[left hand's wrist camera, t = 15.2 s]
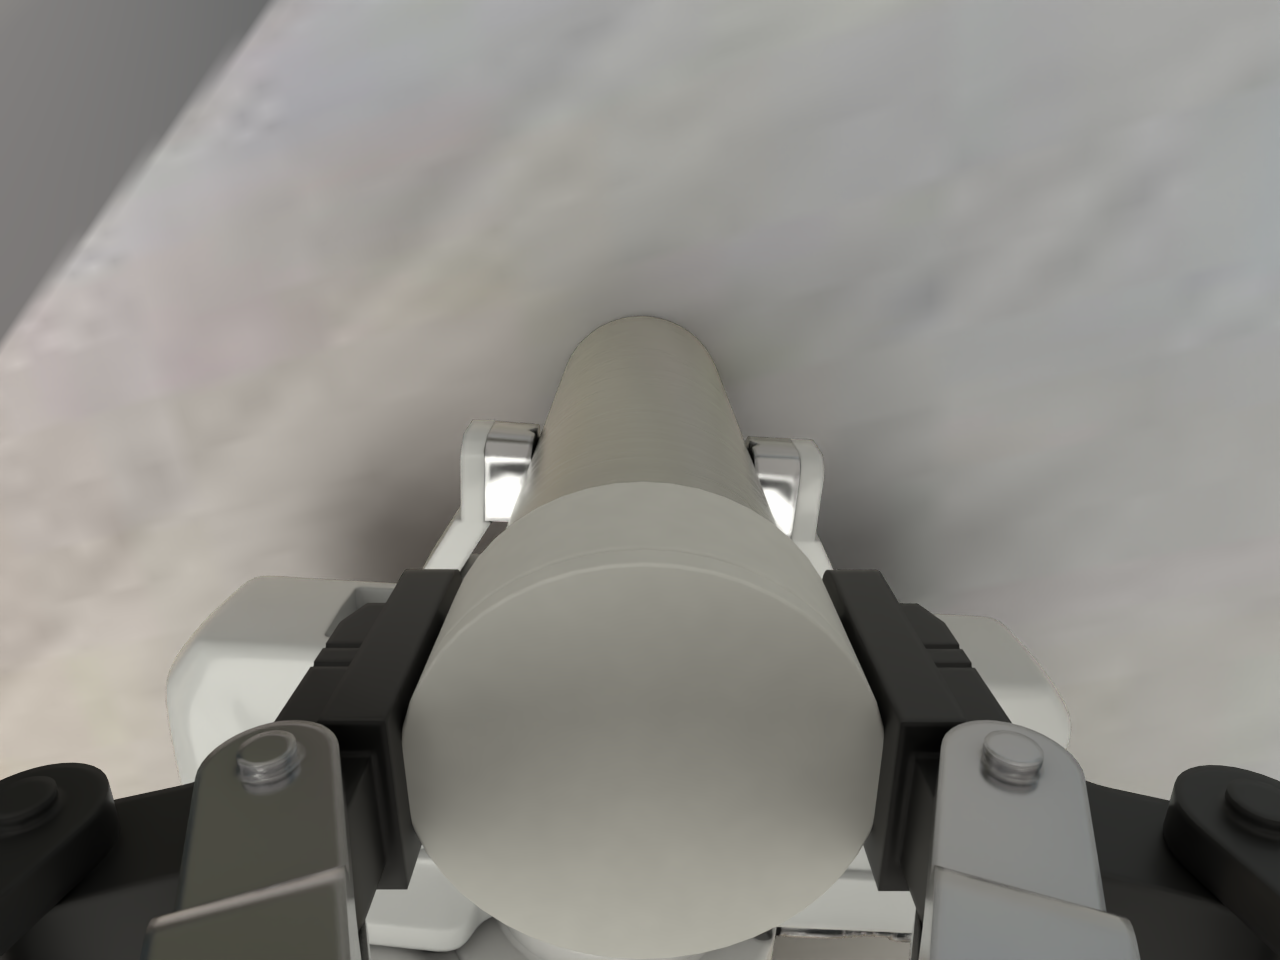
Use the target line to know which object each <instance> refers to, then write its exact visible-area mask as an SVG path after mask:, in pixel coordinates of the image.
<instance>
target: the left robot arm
mask: <svg viewBox="0 0 1280 960" xmlns="http://www.w3.org/2000/svg"><path fill="white" fill-rule="evenodd" d="M822 581H823V583H824V585H825V587H826V590H827V592H828V594H829V596H830V598H831V600H832V603H833V605H834V607H835V609H836V612H837V614H838V616H839V618H840V621H841V623H842V625H843V627H844V630H845V632H846V634H847V636H848V639H849V641H850V643H851V645H852V648H853V650H854V652H855V654H856V657H857V659H858V661H859V663H860V666H861V668H862V670H863V672H864V675H865V677H866V679H867V682H868V684H869V686H870V688H871V690H872V693H873V695H874V697H875V699H876V702H877V705H878V708H879V712H880V715H881V719H882V723H883V726H884V741H883V751H882V759H881V767H880V775H879V782H878V790H877V798H876V806H875V814H874V821H873V827H872V829H871V832H870V834H869V835H868V837H867V839H866V841H865V842H864V844H863V846H864V849H865V852H866V855H867V858H868V861H869V864H870V867H871V870H872V874H873V877H874V880H875V883H876V886H877V889H878V891H910V894H911V896H912V899H913V902H914V904H915V907H916V910H915V916H914V923H913V929H912V935H911V945H910V955H909V960H1280V781H1278V780H1275V779H1272V778H1270V777H1267V776H1265V775H1262V774H1259V773H1255V772H1252V771H1249V770H1244V769H1240V768H1235V767H1228V766H1220V765H1206V766H1197V767H1194V768H1190V769H1188V770H1186V771H1184V772H1182V773H1181V774H1180V775H1179V776H1178V777H1177V780H1176V782H1175V784H1174V788H1173V792H1172V795H1171V799H1170V801H1168V800H1164V799H1159V798H1154V797H1150V796H1145V795H1140V794H1136V793H1131V792H1126V791H1122V790H1117V789H1112V788H1108V787H1104V786H1101V785H1097V784H1094V783H1091V782H1088V781H1085V777H1084V773H1083V770H1082V768H1081V767H1080V765H1079V763H1078V762H1077V761H1076V759H1075V758H1074V757H1073V756H1072V755H1071V754H1070V753H1069V752H1068V751H1067V750H1066V749H1065V748H1064V747H1062V746H1061V745H1059V744H1058V743H1057V742H1055V741H1054V740H1052V739H1050V738H1048V737H1047V736H1045V735H1043V734H1041V733H1039V732H1036V731H1034V730H1032V729H1029V728H1026V727H1023V726H1020V725H1016V724H1013V723H1012V722H1011V721H1010V719H1009V718H1008V716H1007V715H1006V713H1005V712H1004V710H1003V709H1002V707H1001V706H1000V704H999V703H998V701H997V700H996V698H995V697H994V695H993V694H992V692H991V691H990V689H989V688H988V686H987V685H986V683H985V682H984V680H983V679H982V677H981V676H980V674H979V673H978V671H977V670H976V669H975V668H972V663H971V661H970V660H969V658H968V657H967V655H966V654H965V652H964V651H963V649H960V648H959V643H958V642H957V640H956V639H955V637H954V636H953V634H952V633H951V631H950V630H949V628H948V627H947V625H946V624H945V622H943V621H942V620H940V619H939V618H937V617H936V616H935V615H933V614H932V613H930V612H929V611H927V610H926V609H924V608H923V607H921V606H920V605H919V604H899V602H898V601H897V599H896V597H895V596H894V594H893V592H892V591H891V589H890V587H889V586H888V584H887V582H886V581H885V579H884V577H883V576H882V574H881V573H880V571H878V570H826V571H825V572H824V574H823V578H822ZM461 583H462V576H461V573H460V571H459V570H458V569H406V570H405V571H404V573H403V574H402V576H401V578H400V579H399V581H398V583H397V584H396V586H395V588H394V590H393V591H392V593H391V595H390V596H389V598H388V600H387V601H386V603H366V604H365V605H363V606H362V607H361V608H359V609H358V610H356V611H355V612H353V613H352V614H350V615H349V616H348V617H346V618H345V619H343V620H342V621H340V623H339V624H338V626H337V627H336V629H335V630H334V632H333V633H332V635H331V636H330V638H329V639H328V641H327V642H326V647H325V648H322V650H321V651H320V653H319V654H318V656H317V658H316V659H315V661H314V666H313V667H310V668H309V670H308V671H307V673H306V674H305V676H304V677H303V679H302V680H301V682H300V683H299V685H298V686H297V688H296V689H295V691H294V692H293V694H292V695H291V697H290V698H289V700H288V701H287V703H286V704H285V706H284V707H283V709H282V710H281V712H280V713H279V715H278V717H277V718H276V720H275V721H274V722H272V723H267V724H264V725H260V726H257V727H254V728H251V729H248V730H246V731H244V732H241V733H239V734H237V735H235V736H233V737H232V738H230V739H228V740H226V741H225V742H223V743H222V744H221V745H219V746H218V747H216V748H215V749H214V750H213V751H212V752H211V753H210V754H209V755H208V756H207V757H206V758H205V759H204V761H203V762H202V763H201V765H200V767H199V768H198V770H197V773H196V777H195V781H194V782H192V783H188V784H184V785H180V786H176V787H172V788H167V789H163V790H158V791H153V792H149V793H144V794H139V795H135V796H130V797H125V798H121V799H116V800H114V799H113V796H112V792H111V789H110V785H109V782H108V779H107V777H106V775H105V774H104V773H103V772H102V771H101V770H100V769H98V768H96V767H94V766H91V765H87V764H82V763H59V764H51V765H46V766H41V767H37V768H33V769H30V770H26V771H23V772H20V773H17V774H15V775H12V776H10V777H7V778H5V779H3V780H0V960H371V955H370V945H369V935H368V929H367V923H366V917H367V914H368V911H369V909H370V906H371V903H372V900H373V898H374V895H375V892H376V890H407V889H408V886H409V883H410V880H411V877H412V874H413V871H414V867H415V864H416V861H417V858H418V855H419V852H420V849H421V846H422V843H421V841H420V839H419V837H418V836H417V834H416V832H415V830H414V827H413V825H412V820H411V814H410V806H409V798H408V790H407V782H406V774H405V766H404V758H403V749H402V727H403V723H404V720H405V717H406V713H407V710H408V706H409V703H410V700H411V698H412V695H413V693H414V691H415V688H416V686H417V684H418V682H419V679H420V677H421V674H422V672H423V670H424V668H425V665H426V663H427V661H428V658H429V656H430V654H431V651H432V649H433V647H434V644H435V642H436V640H437V637H438V635H439V633H440V630H441V628H442V626H443V623H444V621H445V619H446V616H447V614H448V612H449V610H450V607H451V605H452V603H453V600H454V598H455V596H456V594H457V592H458V590H459V587H460V585H461Z"/></svg>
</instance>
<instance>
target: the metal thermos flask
mask: <svg viewBox="0 0 1280 960" xmlns="http://www.w3.org/2000/svg"><path fill="white" fill-rule="evenodd" d="M629 482H656V483H671V484H677V485H682V486H687V487H693V488H698V489H701V490H705V491H708V492H711V493H714V494H717V495H720V496H723V497H726V498H728V499H730V500H732V501H734V502H737V503H739V504H741V505H743V506H745V507H747V508H749V509H751V510H753V511H754V512H756V513H757V514H759V515H760V516H762V517H764V518H765V519H767V520H768V521H770V522H771V523H773V524H774V525H775V526H776V527H777V525H776V522H775V519H774V517H773V514H772V512H771V509H770V506H769V504H768V501H767V499H766V496H765V493H764V491H763V488H762V486H761V483H760V480H759V478H758V475H757V473H756V470H755V467H754V465H753V462H752V460H751V457H750V454H749V452H748V449H747V447H746V444H745V441H744V439H743V436H742V434H741V431H740V428H739V426H738V423H737V421H736V418H735V415H734V413H733V410H732V408H731V405H730V402H729V400H728V397H727V395H726V392H725V389H724V387H723V384H722V382H721V379H720V376H719V374H718V371H717V369H716V366H715V364H714V362H713V360H712V358H711V356H710V354H709V353H708V351H707V350H706V348H705V347H704V346H703V345H702V343H701V342H700V341H699V340H698V339H697V338H696V337H695V336H694V335H692V334H691V333H690V332H688V331H687V330H686V329H684V328H683V327H681V326H679V325H677V324H675V323H673V322H670V321H667V320H664V319H660V318H655V317H648V316H634V317H626V318H621V319H618V320H615V321H612V322H609V323H607V324H605V325H603V326H601V327H599V328H598V329H596V330H595V331H593V332H592V333H591V334H589V335H588V336H587V337H586V338H585V339H584V340H583V341H582V342H581V343H580V344H579V345H578V347H577V348H576V349H575V351H574V352H573V354H572V355H571V357H570V359H569V361H568V363H567V366H566V368H565V371H564V374H563V376H562V379H561V382H560V384H559V387H558V390H557V392H556V395H555V398H554V400H553V403H552V406H551V409H550V411H549V414H548V417H547V419H546V422H545V425H544V427H543V430H542V433H541V436H540V438H539V441H538V444H537V446H536V449H535V452H534V454H533V457H532V460H531V462H530V465H529V468H528V471H527V473H526V476H525V479H524V481H523V484H522V487H521V489H520V492H519V495H518V497H517V500H516V503H515V506H514V508H513V511H512V514H511V516H510V519H509V522H508V524H507V527H506V529H507V528H508V527H509V526H510V525H511V524H513V523H514V522H515V521H517V520H519V519H520V518H522V517H523V516H525V515H526V514H528V513H530V512H531V511H533V510H534V509H536V508H538V507H540V506H542V505H544V504H547V503H549V502H551V501H553V500H555V499H557V498H560V497H562V496H565V495H568V494H571V493H575V492H578V491H581V490H584V489H587V488H592V487H598V486H603V485H609V484H614V483H629ZM777 528H778V527H777Z"/></svg>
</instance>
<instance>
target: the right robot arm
mask: <svg viewBox="0 0 1280 960" xmlns="http://www.w3.org/2000/svg"><path fill="white" fill-rule="evenodd" d="M539 438H540V425H539V424H530V423H517V422H504V421H495V420H472V422H471V423H470V425H469V426H468V428H467V429H466V431H465V432H464V434H463V440H462V445H461V453H460V496H461V506H460V507H459V509H458V510H457V512H456V513H455V515H454V517H453V518H452V520H451V521H450V523H449V525H448V526H447V528H446V529H445V531H444V532H443V534H442V536H441V537H440V539H439V540H438V542H437V544H436V545H435V547H434V548H433V550H432V552H431V554H430V555H429V557H428V559H427V561H426V563H425V564H424V566H423V568H422V569H458V570H459V571H460V573H461V576H462V581H463V579H464V577H465V576H466V574H467V573H468V571H469V570H470V568H471V567H472V565H473V564H474V562H475V561H476V559H477V558H478V556H479V555H480V554H476V553H472V552H473V550H474V549H475V547H476V546H477V544H478V543H479V541H480V540H481V538H482V536H483V535H484V533H485V532H486V530H487V529H488V527H489V525H490V524H491V522H492V521H499V522H509V519H510V516H511V514H512V511H513V508H514V506H515V503H516V500H517V497H518V495H519V492H520V489H521V487H522V484H523V481H524V479H525V476H526V473H527V471H528V468H529V465H530V462H531V460H532V457H533V454H534V452H535V449H536V446H537V444H538V441H539ZM745 444H746V447H747V449H748V452H749V454H750V457H751V460H752V462H753V465H754V467H755V470H756V473H757V475H758V478H759V480H760V483H761V486H762V488H763V491H764V493H765V496H766V499H767V501H768V504H769V506H770V509H771V512H772V514H773V517H774V519H775V522H776V525H777V527H778V528H779V529H780V530H781V531H782V532H783V533H784V534H786V535H787V536H788V537H789V538H790V539H791V540H792V541H793V542H794V543H795V544H796V545H797V546H798V547H799V549H800V550H801V551H802V552H803V553H804V554H805V555H806V556H807V558H808V559H809V560H810V562H811V563H812V565H813V566H814V568H815V570H816V571H817V573H818V574H819V576H820V577H821V579H822V578H823V574H824V572H825V571H826V570H833V568H832V565H831V563H830V561H829V559H828V556H827V554H826V552H825V550H824V548H823V545H822V543H821V541H820V539H819V537H818V535H817V533H816V529H817V522H818V515H819V508H820V502H821V495H822V488H823V482H824V460H823V455H822V453H821V452H820V450H819V449H818V447H817V446H816V444H815V443H814V441H813V440H805V439H790V438H770V437H751V436H748V437H747V439H746V442H745ZM396 584H397V583H385V582H367V581H350V580H332V579H314V578H296V577H283V576H260V577H256V578H253V579H251V580H249V581H248V582H246V583H245V584H244V585H242V586H241V587H240V588H239V589H238V590H237V591H236V592H234V593H233V594H232V595H231V596H230V597H229V598H228V599H227V600H226V601H225V602H224V603H223V604H221V605H220V606H219V607H218V608H217V609H216V610H215V611H214V612H213V613H212V614H211V615H210V616H209V617H208V618H207V619H206V620H205V621H204V622H203V623H202V624H201V626H200V627H199V628H198V629H197V630H196V631H195V632H194V634H193V635H192V636H191V637H190V639H189V640H188V641H187V642H186V644H185V645H184V646H183V648H182V649H181V651H180V652H179V654H178V655H177V656H176V658H175V660H174V662H173V664H172V666H171V668H170V671H169V674H168V677H167V682H166V708H167V716H168V724H169V730H170V735H171V741H172V746H173V752H174V757H175V762H176V766H177V771H178V775H179V780H180V784H181V785H184V784H188V783H192V782H194V781H195V777H196V773H197V770H198V768H199V767H200V765H201V763H202V762H203V761H204V759H205V758H206V757H207V756H208V755H209V754H210V753H211V752H212V751H213V750H214V749H215V748H216V747H218V746H219V745H221V744H222V743H223V742H225V741H226V740H228V739H230V738H232V737H233V736H235V735H237V734H239V733H241V732H244V731H246V730H248V729H251V728H254V727H257V726H260V725H264V724H267V723H272V722H274V721H275V720H276V718H277V717H278V715H279V713H280V712H281V710H282V709H283V707H284V706H285V704H286V703H287V701H288V700H289V698H290V697H291V695H292V694H293V692H294V691H295V689H296V688H297V686H298V685H299V683H300V682H301V680H302V679H303V677H304V676H305V674H306V673H307V671H308V670H309V668H310V667H313V666H314V661H315V659H316V658H317V656H318V654H319V653H320V651H321V650H322V648H325V647H326V642H327V641H328V639H329V638H330V636H331V635H332V633H333V632H334V630H335V629H336V627H337V626H338V624H339V623H340V621H342V620H343V619H345V618H346V617H348V616H349V615H350V614H352V613H353V612H355V611H356V610H358V609H359V608H361V607H362V606H363V605H365V604H366V603H386V601H387V600H388V598H389V596H390V595H391V593H392V591H393V590H394V588H395V586H396ZM933 615H935V616H936V617H937V618H939V619H940V620H942V621H943V622H945V624H946V625H947V627H948V628H949V630H950V631H951V633H952V634H953V636H954V637H955V639H956V640H957V642H958V643H959V648H960V649H963V651H964V652H965V654H966V655H967V657H968V658H969V660H970V661H971V663H972V668H975V669H976V670H977V671H978V673H979V674H980V676H981V677H982V679H983V680H984V682H985V683H986V685H987V686H988V688H989V689H990V691H991V692H992V694H993V695H994V697H995V698H996V700H997V701H998V703H999V704H1000V706H1001V707H1002V709H1003V710H1004V712H1005V713H1006V715H1007V716H1008V718H1009V719H1010V721H1011V722H1012V723H1013V724H1016V725H1020V726H1023V727H1026V728H1029V729H1032V730H1034V731H1036V732H1039V733H1041V734H1043V735H1045V736H1047V737H1048V738H1050V739H1052V740H1054V741H1055V742H1057V743H1058V744H1059V745H1061V746H1062V747H1064V748H1065V749H1066V750H1067V747H1068V743H1069V740H1070V734H1071V720H1070V716H1069V713H1068V710H1067V708H1066V705H1065V703H1064V701H1063V699H1062V698H1061V696H1060V694H1059V692H1058V691H1057V689H1056V687H1055V686H1054V684H1053V683H1052V681H1051V680H1050V678H1049V677H1048V676H1047V674H1046V673H1045V671H1044V670H1043V668H1042V667H1041V666H1040V664H1039V663H1038V662H1037V661H1036V659H1035V658H1034V657H1033V656H1032V655H1031V654H1030V652H1029V651H1028V650H1027V649H1026V648H1025V647H1024V646H1023V645H1022V644H1021V642H1020V641H1019V640H1018V639H1017V638H1016V637H1015V636H1014V635H1013V634H1012V632H1011V631H1010V630H1009V629H1008V628H1007V627H1006V626H1004V625H1003V624H1002V623H1001V622H999V621H997V620H995V619H993V618H988V617H982V616H969V615H950V614H933ZM915 910H916V907H915V904H914V902H913V899H912V896H911V894H910V891H878V889H877V886H876V883H875V880H874V877H873V874H872V870H871V867H870V864H869V861H868V858H867V855H866V852H865V849H864V846H862V848H861V850H860V851H859V853H858V855H857V856H856V857H855V859H854V860H853V861H852V863H851V864H850V865H849V867H848V868H847V869H846V871H845V872H844V873H843V875H842V876H841V877H840V878H839V879H838V880H837V881H836V882H835V883H834V884H833V885H832V886H831V887H830V888H829V889H828V890H827V891H826V892H825V893H824V894H823V895H822V896H820V897H819V898H818V899H816V900H815V901H814V902H813V903H811V904H810V905H809V906H808V907H806V908H805V909H804V910H803V911H801V912H799V913H798V914H796V915H795V916H793V917H791V918H790V919H788V920H787V921H785V922H783V923H782V924H780V925H778V926H776V927H774V928H772V929H770V930H768V931H766V932H764V933H762V934H760V935H757V936H755V937H753V938H750V939H748V940H745V941H742V942H739V943H736V944H733V945H731V946H728V947H724V948H720V949H716V950H712V951H708V952H704V953H700V954H693V955H686V956H679V957H672V958H653V959H632V958H613V957H606V956H599V955H592V954H586V953H581V952H577V951H573V950H569V949H565V948H561V947H557V946H555V945H552V944H549V943H546V942H543V941H541V940H538V939H535V938H532V937H530V936H528V935H526V934H524V933H522V932H520V931H517V930H515V929H513V928H511V927H509V926H507V925H505V924H504V923H502V922H500V921H499V920H497V919H496V918H494V917H492V916H491V915H489V914H488V913H486V912H484V911H483V910H482V909H480V908H479V907H478V906H477V905H475V904H474V903H473V902H472V901H470V900H469V899H468V898H467V897H465V896H464V895H463V894H462V893H461V892H460V891H459V890H458V889H457V888H456V887H455V886H454V885H453V884H452V883H451V882H450V881H449V880H448V879H447V878H446V877H445V876H444V875H443V874H442V872H441V871H440V870H439V868H438V867H437V866H436V864H435V863H434V862H433V860H432V859H431V858H430V856H429V855H428V854H427V852H426V850H425V848H424V847H423V845H422V846H421V849H420V852H419V855H418V858H417V861H416V864H415V867H414V871H413V874H412V877H411V880H410V883H409V886H408V889H407V890H376V892H375V895H374V898H373V900H372V903H371V906H370V909H369V911H368V914H367V917H366V923H367V929H368V935H369V945H370V955H371V960H771V959H772V953H773V947H774V941H775V938H776V935H778V936H785V937H804V938H827V939H829V938H843V937H844V938H849V937H853V936H854V937H861V936H874V937H888V939H889V940H892V941H897V942H911V935H912V929H913V923H914V916H915Z"/></svg>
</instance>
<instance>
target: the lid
mask: <svg viewBox="0 0 1280 960" xmlns="http://www.w3.org/2000/svg"><path fill="white" fill-rule="evenodd" d="M883 741H884V726H883V723H882V719H881V715H880V712H879V708H878V705H877V702H876V699H875V697H874V695H873V693H872V690H871V688H870V686H869V684H868V682H867V679H866V677H865V675H864V672H863V670H862V668H861V666H860V663H859V661H858V659H857V657H856V654H855V652H854V650H853V648H852V645H851V643H850V641H849V639H848V636H847V634H846V632H845V630H844V627H843V625H842V623H841V621H840V618H839V616H838V614H837V612H836V609H835V607H834V605H833V603H832V600H831V598H830V596H829V594H828V592H827V590H826V587H825V585H824V583H823V581H822V579H821V577H820V576H819V574H818V573H817V571H816V570H815V568H814V566H813V565H812V563H811V562H810V560H809V559H808V558H807V556H806V555H805V554H804V553H803V552H802V551H801V550H800V549H799V547H798V546H797V545H796V544H795V543H794V542H793V541H792V540H791V539H790V538H789V537H788V536H787V535H786V534H784V533H783V532H782V531H781V530H780V529H779V528H777V527H776V526H775V525H774V524H773V523H771V522H770V521H768V520H767V519H765V518H764V517H762V516H760V515H759V514H757V513H756V512H754V511H753V510H751V509H749V508H747V507H745V506H743V505H741V504H739V503H737V502H734V501H732V500H730V499H728V498H726V497H723V496H720V495H717V494H714V493H711V492H708V491H705V490H701V489H698V488H693V487H687V486H682V485H677V484H671V483H656V482H629V483H614V484H609V485H603V486H598V487H592V488H587V489H584V490H581V491H578V492H575V493H571V494H568V495H565V496H562V497H560V498H557V499H555V500H553V501H551V502H549V503H547V504H544V505H542V506H540V507H538V508H536V509H534V510H533V511H531V512H530V513H528V514H526V515H525V516H523V517H522V518H520V519H519V520H517V521H515V522H514V523H513V524H511V525H510V526H509V527H508V528H507V529H506V530H504V531H503V532H502V533H501V534H500V535H498V536H497V537H496V538H495V539H494V540H493V541H492V542H491V543H490V544H489V545H488V546H487V548H486V549H485V550H484V551H483V552H482V553H481V554H480V555H479V556H478V558H477V559H476V561H475V562H474V564H473V565H472V567H471V568H470V570H469V571H468V573H467V574H466V576H465V577H464V579H463V581H462V583H461V585H460V587H459V590H458V592H457V594H456V596H455V598H454V600H453V603H452V605H451V607H450V610H449V612H448V614H447V616H446V619H445V621H444V623H443V626H442V628H441V630H440V633H439V635H438V637H437V640H436V642H435V644H434V647H433V649H432V651H431V654H430V656H429V658H428V661H427V663H426V665H425V668H424V670H423V672H422V674H421V677H420V679H419V682H418V684H417V686H416V688H415V691H414V693H413V695H412V698H411V700H410V703H409V706H408V710H407V713H406V717H405V720H404V723H403V727H402V749H403V758H404V766H405V774H406V782H407V790H408V798H409V806H410V814H411V820H412V825H413V827H414V830H415V832H416V834H417V836H418V837H419V839H420V841H421V843H422V845H423V847H424V848H425V850H426V852H427V854H428V855H429V856H430V858H431V859H432V860H433V862H434V863H435V864H436V866H437V867H438V868H439V870H440V871H441V872H442V874H443V875H444V876H445V877H446V878H447V879H448V880H449V881H450V882H451V883H452V884H453V885H454V886H455V887H456V888H457V889H458V890H459V891H460V892H461V893H462V894H463V895H464V896H465V897H467V898H468V899H469V900H470V901H472V902H473V903H474V904H475V905H477V906H478V907H479V908H480V909H482V910H483V911H484V912H486V913H488V914H489V915H491V916H492V917H494V918H496V919H497V920H499V921H500V922H502V923H504V924H505V925H507V926H509V927H511V928H513V929H515V930H517V931H520V932H522V933H524V934H526V935H528V936H530V937H532V938H535V939H538V940H541V941H543V942H546V943H549V944H552V945H555V946H557V947H561V948H565V949H569V950H573V951H577V952H581V953H586V954H592V955H599V956H606V957H613V958H632V959H653V958H672V957H679V956H686V955H693V954H700V953H704V952H708V951H712V950H716V949H720V948H724V947H728V946H731V945H733V944H736V943H739V942H742V941H745V940H748V939H750V938H753V937H755V936H757V935H760V934H762V933H764V932H766V931H768V930H770V929H772V928H774V927H776V926H778V925H780V924H782V923H783V922H785V921H787V920H788V919H790V918H791V917H793V916H795V915H796V914H798V913H799V912H801V911H803V910H804V909H805V908H806V907H808V906H809V905H810V904H811V903H813V902H814V901H815V900H816V899H818V898H819V897H820V896H822V895H823V894H824V893H825V892H826V891H827V890H828V889H829V888H830V887H831V886H832V885H833V884H834V883H835V882H836V881H837V880H838V879H839V878H840V877H841V876H842V875H843V873H844V872H845V871H846V869H847V868H848V867H849V865H850V864H851V863H852V861H853V860H854V859H855V857H856V856H857V855H858V853H859V851H860V850H861V848H862V846H863V844H864V842H865V841H866V839H867V837H868V835H869V834H870V832H871V829H872V827H873V821H874V814H875V806H876V798H877V790H878V782H879V775H880V767H881V759H882V751H883Z"/></svg>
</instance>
